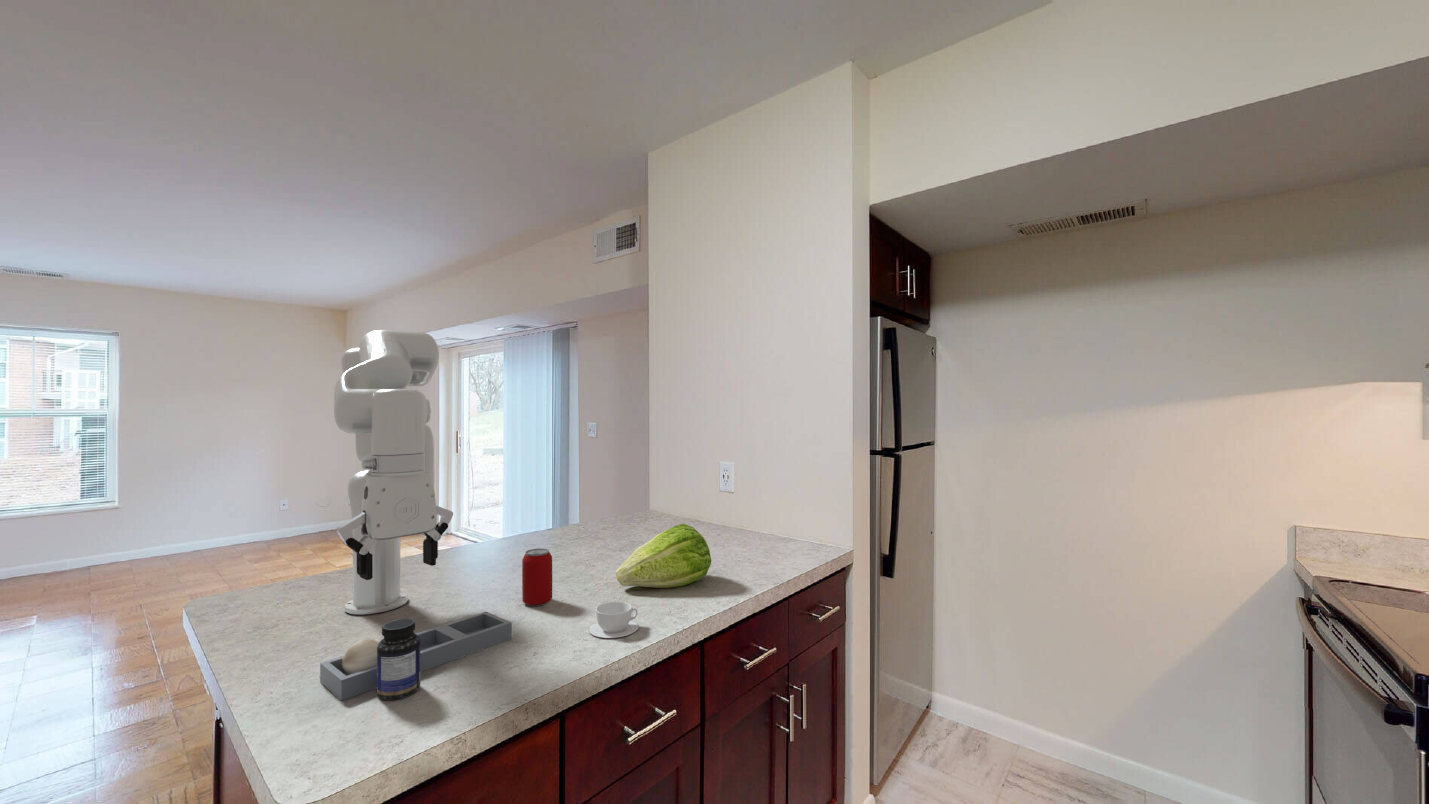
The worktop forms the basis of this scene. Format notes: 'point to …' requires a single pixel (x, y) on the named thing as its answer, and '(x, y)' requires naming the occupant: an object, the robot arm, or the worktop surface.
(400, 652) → the pill bottle
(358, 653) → the potato
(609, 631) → the teacup
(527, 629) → the worktop surface
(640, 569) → the lettuce
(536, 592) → the beverage can
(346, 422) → the robot arm
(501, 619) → the well holder
